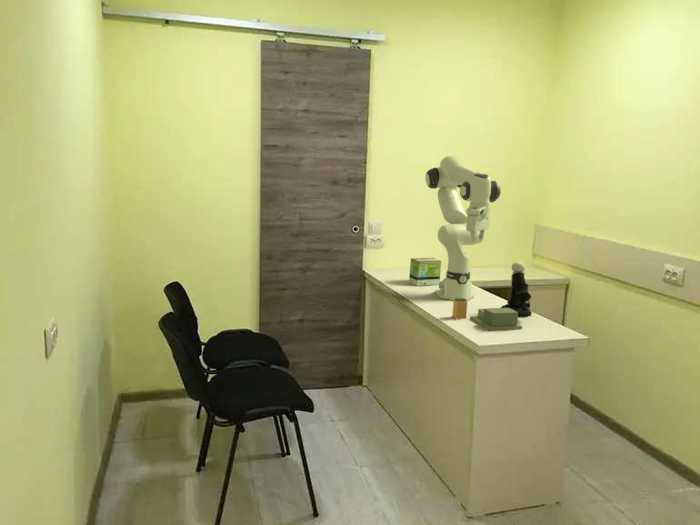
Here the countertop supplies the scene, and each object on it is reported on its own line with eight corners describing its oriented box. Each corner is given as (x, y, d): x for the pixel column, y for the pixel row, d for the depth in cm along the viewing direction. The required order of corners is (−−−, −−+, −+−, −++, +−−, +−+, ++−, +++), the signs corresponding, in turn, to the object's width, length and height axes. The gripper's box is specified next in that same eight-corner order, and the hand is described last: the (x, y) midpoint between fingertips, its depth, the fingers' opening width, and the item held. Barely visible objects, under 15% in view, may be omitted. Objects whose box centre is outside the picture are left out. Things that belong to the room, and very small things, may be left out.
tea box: (417, 286, 332) (418, 261, 329) (408, 283, 341) (410, 257, 338) (440, 285, 338) (441, 259, 335) (430, 281, 347) (432, 256, 344)
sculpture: (526, 309, 289) (530, 259, 284) (540, 323, 266) (546, 268, 261) (495, 308, 289) (499, 258, 285) (507, 321, 266) (511, 267, 261)
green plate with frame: (470, 318, 268) (471, 303, 267) (501, 317, 272) (503, 302, 271) (488, 330, 251) (489, 314, 250) (522, 328, 255) (523, 312, 254)
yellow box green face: (452, 316, 272) (453, 297, 270) (462, 316, 273) (463, 297, 271) (456, 318, 268) (457, 299, 266) (466, 318, 269) (467, 299, 267)
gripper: (480, 208, 277) (478, 237, 279) (464, 210, 259) (462, 241, 262) (493, 209, 273) (491, 238, 276) (478, 211, 256) (476, 243, 258)
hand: (477, 240), depth 268 cm, fingers open, 8 cm apart
